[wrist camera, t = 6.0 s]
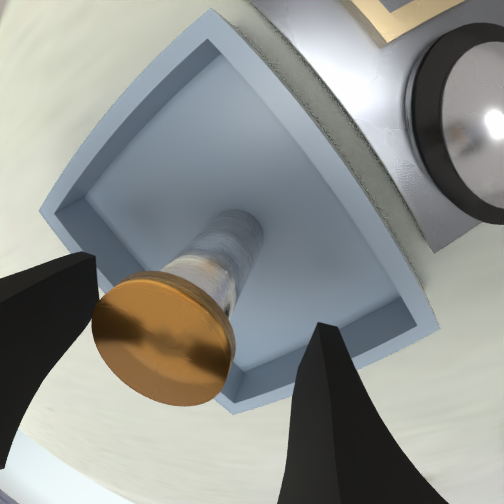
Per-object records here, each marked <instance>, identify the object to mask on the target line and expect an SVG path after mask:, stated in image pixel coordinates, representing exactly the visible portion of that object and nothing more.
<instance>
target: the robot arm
mask: <svg viewBox="0 0 504 504" xmlns="http://www.w3.org/2000/svg"><path fill="white" fill-rule="evenodd" d="M98 301H99V291H98V280H97V267H96V256H95V255H92V254H89V253H86V252H83V251H80V252H76V253H72V254H69V255H66V256H63V257H60V258H57V259H54V260H52V261H49V262H46V263H43V264H41V265H38V266H35V267H32V268H30V269H27V270H24V271H21V272H18V273H15V274H12V275H9V276H6V277H4V278H1V279H0V469H4V468H5V464H6V460H7V457H8V454H9V451H10V448H11V445H12V442H13V439H14V437H15V434H16V432H17V430H18V427H19V425H20V423H21V420H22V418H23V416H24V414H25V412H26V410H27V408H28V406H29V404H30V402H31V401H32V399H33V397H34V395H35V394H36V392H37V390H38V389H39V387H40V385H41V383H42V382H43V380H44V379H45V377H46V376H47V375H48V373H49V372H50V371H51V369H52V368H53V367H54V366H55V364H56V363H57V362H58V361H59V359H60V358H61V357H62V356H63V355H64V353H65V352H66V351H67V350H68V349H69V347H70V346H71V345H72V344H73V342H74V341H75V340H76V339H77V338H78V336H79V335H80V334H81V333H82V332H83V330H84V329H85V328H86V326H87V325H88V323H89V322H90V320H91V319H92V315H93V311H94V308H95V306H96V305H97V303H98ZM0 504H18V503H17V502H16V501H15V500H13V499H12V498H10V497H9V496H8V495H7V494H6V493H4V492H3V491H2V490H1V489H0ZM277 504H449V503H448V502H447V501H445V500H444V499H443V498H442V497H441V496H440V494H439V493H438V492H437V491H436V490H435V489H434V488H433V487H432V486H431V485H430V484H429V483H428V482H427V481H426V479H425V478H424V477H423V476H422V475H421V474H420V473H419V471H418V470H417V469H416V468H415V466H414V465H413V464H412V462H411V461H410V460H409V459H408V457H407V456H406V455H405V453H404V452H403V451H402V449H401V448H400V447H399V445H398V444H397V442H396V441H395V439H394V438H393V436H392V435H391V433H390V432H389V430H388V429H387V427H386V425H385V424H384V422H383V421H382V419H381V417H380V416H379V414H378V412H377V410H376V408H375V406H374V405H373V403H372V401H371V399H370V397H369V395H368V393H367V391H366V389H365V387H364V385H363V383H362V381H361V379H360V376H359V374H358V372H357V370H356V368H355V366H354V363H353V361H352V359H351V356H350V354H349V352H348V349H347V347H346V345H345V342H344V340H343V337H342V335H341V333H340V330H339V328H338V327H337V326H333V325H329V324H325V323H321V322H317V325H316V327H315V330H314V332H313V334H312V337H311V339H310V341H309V344H308V346H307V348H306V351H305V353H304V355H303V357H302V360H301V362H300V364H299V366H298V370H297V375H296V380H295V385H294V390H293V395H292V404H291V416H290V428H289V439H288V450H287V460H286V466H285V473H284V477H283V481H282V486H281V490H280V494H279V498H278V502H277Z"/></svg>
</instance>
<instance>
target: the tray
mask: <svg viewBox="0 0 504 504" xmlns="http://www.w3.org/2000/svg"><path fill="white" fill-rule="evenodd" d="M232 209H237V210H243V211H245V212H248V213H250V214H251V215H253V216H254V217H255V218H256V219H257V220H258V222H259V223H260V225H261V227H262V229H263V233H264V243H263V246H262V249H261V251H260V253H259V255H258V258H257V260H256V262H255V264H254V266H253V269H252V271H251V273H250V275H249V277H248V280H247V282H246V284H245V286H244V288H243V291H242V293H241V295H240V297H239V299H238V302H237V304H236V306H235V308H234V310H233V313H232V315H231V317H230V319H229V322H230V324H231V326H232V328H233V332H234V335H235V341H236V352H235V357H234V360H233V363H232V366H231V368H230V371H229V374H228V376H227V379H226V382H225V384H224V386H223V388H222V390H221V391H220V393H219V394H218V395H217V396H216V397H214V398H213V399H214V400H216V401H217V402H218V403H219V404H220V405H222V406H223V407H224V408H225V409H226V410H228V411H229V412H230V413H231V414H233V415H234V414H238V413H241V412H244V411H248V410H251V409H254V408H257V407H260V406H264V405H267V404H270V403H273V402H276V401H279V400H282V399H284V398H287V397H290V396H292V395H293V390H294V385H295V380H296V375H297V370H298V366H299V364H300V362H301V360H302V357H303V355H304V353H305V351H306V348H307V346H308V344H309V341H310V339H311V337H312V334H313V332H314V330H315V327H316V325H317V322H321V323H325V324H329V325H333V326H337V327H338V328H339V330H340V333H341V335H342V337H343V340H344V342H345V345H346V347H347V349H348V352H349V354H350V356H351V359H352V361H353V363H354V366H355V368H356V370H358V369H361V368H363V367H365V366H367V365H369V364H372V363H374V362H376V361H378V360H380V359H382V358H385V357H387V356H389V355H391V354H393V353H395V352H397V351H399V350H401V349H403V348H405V347H407V346H409V345H411V344H413V343H415V342H417V341H418V340H420V339H422V338H424V337H426V336H428V335H430V334H432V333H433V332H435V331H437V330H439V329H440V327H439V324H438V322H437V319H436V317H435V315H434V312H433V310H432V307H431V305H430V303H429V300H428V298H427V296H426V294H425V291H424V289H423V287H422V285H421V284H420V282H419V280H418V278H417V276H416V274H415V272H414V270H413V269H412V267H411V265H410V263H409V261H408V259H407V258H406V256H405V254H404V252H403V251H402V249H401V247H400V245H399V244H398V242H397V240H396V239H395V237H394V235H393V233H392V232H391V230H390V228H389V227H388V225H387V223H386V222H385V220H384V219H383V217H382V215H381V214H380V212H379V210H378V209H377V207H376V206H375V204H374V203H373V201H372V199H371V198H370V196H369V195H368V193H367V192H366V190H365V189H364V187H363V186H362V184H361V183H360V181H359V180H358V178H357V177H356V175H355V174H354V172H353V171H352V169H351V168H350V166H349V165H348V164H347V162H346V161H345V159H344V158H343V156H342V155H341V154H340V152H339V151H338V149H337V148H336V147H335V145H334V144H333V143H332V141H331V140H330V138H329V137H328V136H327V134H326V133H325V132H324V130H323V129H322V128H321V126H320V125H319V124H318V123H317V121H316V120H315V119H314V117H313V116H312V115H311V113H310V112H309V111H308V110H307V108H306V107H305V106H304V105H303V103H302V102H301V101H300V100H299V98H298V97H297V96H296V95H295V94H294V92H293V91H292V90H291V89H290V87H289V86H288V85H287V84H286V83H285V82H284V80H283V79H282V78H281V77H280V76H279V74H278V73H277V72H276V71H275V70H274V69H273V68H272V66H271V65H270V64H269V63H268V62H267V61H266V60H265V59H264V57H263V56H262V55H261V54H260V53H259V52H258V51H257V50H256V49H255V48H254V47H253V45H252V44H251V43H250V42H249V41H248V40H247V39H246V38H245V37H244V36H243V35H242V34H241V33H240V32H239V31H238V30H237V29H236V28H235V27H234V26H233V25H232V24H231V23H230V22H228V21H227V20H226V19H225V18H223V17H222V16H221V15H220V14H218V13H217V12H216V11H215V10H213V9H212V8H210V9H209V10H208V11H207V12H206V13H204V14H203V15H202V16H201V17H200V18H198V19H197V20H196V21H195V22H194V23H193V24H192V25H190V26H189V27H188V28H187V29H186V30H185V31H184V32H183V33H182V34H180V35H179V36H178V37H177V38H176V39H175V40H174V41H173V42H172V43H171V44H170V45H169V46H168V47H167V48H166V49H165V50H163V51H162V52H161V53H160V54H159V55H158V56H157V57H156V58H155V59H154V60H153V61H152V62H151V63H150V65H149V66H148V67H147V68H146V69H145V70H144V71H143V72H142V73H141V74H140V75H139V76H138V77H137V78H136V79H135V80H134V82H133V83H132V84H131V85H130V86H129V87H128V88H127V89H126V90H125V92H124V93H123V94H122V95H121V96H120V97H119V99H118V100H117V101H116V102H115V103H114V104H113V106H112V107H111V108H110V109H109V110H108V112H107V113H106V114H105V115H104V117H103V118H102V119H101V120H100V122H99V123H98V124H97V125H96V127H95V128H94V129H93V131H92V132H91V133H90V134H89V136H88V137H87V138H86V140H85V141H84V143H83V144H82V145H81V147H80V148H79V149H78V151H77V152H76V154H75V155H74V156H73V158H72V159H71V161H70V162H69V164H68V165H67V167H66V168H65V170H64V171H63V173H62V174H61V176H60V177H59V179H58V180H57V182H56V183H55V185H54V186H53V188H52V190H51V191H50V193H49V194H48V196H47V198H46V199H45V201H44V203H43V204H42V206H41V208H40V209H39V212H40V214H41V215H42V216H43V218H44V219H45V220H46V222H47V223H48V224H49V226H50V227H51V228H52V230H53V231H54V232H55V234H56V235H57V236H58V238H59V239H60V240H61V241H62V243H63V244H64V245H65V247H66V248H67V249H68V250H69V252H70V253H71V254H72V253H76V252H80V251H83V252H86V253H89V254H92V255H95V256H96V267H97V280H98V286H99V287H100V288H101V289H102V291H103V292H104V293H105V294H106V293H107V292H109V291H110V290H111V289H112V288H113V287H114V286H115V285H117V284H118V283H119V282H120V281H121V280H123V279H124V278H125V277H127V276H129V275H131V274H133V273H137V272H141V271H161V270H162V269H163V268H164V267H165V266H166V265H167V264H168V263H169V262H170V261H171V260H172V259H173V258H174V257H175V256H176V255H177V254H178V253H179V252H180V251H181V250H182V249H183V248H184V247H185V246H186V245H187V244H188V243H189V242H190V241H191V240H193V239H194V238H195V237H196V236H197V235H198V234H199V233H200V232H201V231H202V230H203V229H204V228H205V227H206V226H207V225H208V224H209V223H210V222H211V221H213V220H214V219H215V218H216V217H217V216H218V215H219V214H221V213H222V212H224V211H227V210H232Z"/></svg>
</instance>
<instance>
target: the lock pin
mask: <svg viewBox="0 0 504 504" xmlns="http://www.w3.org/2000/svg"><path fill="white" fill-rule="evenodd" d="M263 243H264V233H263V229H262V227H261V225H260V223H259V222H258V220H257V219H256V218H255V217H254V216H253V215H251V214H250V213H248V212H245V211H243V210H237V209H232V210H227V211H224V212H222V213H221V214H219V215H218V216H217V217H216V218H215V219H214V220H213V221H211V222H210V223H209V224H208V225H207V226H206V227H205V228H204V229H203V230H202V231H201V232H200V233H199V234H198V235H197V236H196V237H195V238H194V239H193V240H191V241H190V242H189V243H188V244H187V245H186V246H185V247H184V248H183V249H182V250H181V251H180V252H179V253H178V254H177V255H176V256H175V257H174V258H173V259H172V260H171V261H170V262H169V263H168V264H167V265H166V266H165V267H164V268H163V269H162V270H161V271H141V272H137V273H133V274H131V275H129V276H127V277H125V278H124V279H123V280H121V281H120V282H119V283H118V284H117V285H115V286H114V287H113V288H112V289H111V290H110V291H109V292H107V293H106V294H105V295H104V296H103V297H102V298H101V299H100V300H99V301H98V303H97V305H96V306H95V308H94V311H93V315H92V334H93V338H94V341H95V344H96V347H97V349H98V351H99V353H100V355H101V357H102V358H103V360H104V361H105V363H106V364H107V365H108V367H109V368H110V369H111V370H112V372H113V373H114V374H115V375H116V376H117V377H118V378H119V379H120V380H121V381H123V382H124V383H125V384H126V385H128V386H129V387H130V388H132V389H133V390H135V391H136V392H138V393H140V394H142V395H143V396H145V397H148V398H150V399H152V400H155V401H157V402H160V403H164V404H168V405H173V406H195V405H199V404H203V403H205V402H208V401H210V400H211V399H213V398H214V397H216V396H217V395H218V394H219V393H220V391H221V390H222V388H223V386H224V384H225V382H226V379H227V376H228V374H229V371H230V368H231V366H232V363H233V360H234V357H235V352H236V341H235V335H234V332H233V328H232V326H231V324H230V322H229V319H230V317H231V315H232V313H233V310H234V308H235V306H236V304H237V302H238V299H239V297H240V295H241V293H242V291H243V288H244V286H245V284H246V282H247V280H248V277H249V275H250V273H251V271H252V269H253V266H254V264H255V262H256V260H257V258H258V255H259V253H260V251H261V249H262V246H263Z"/></svg>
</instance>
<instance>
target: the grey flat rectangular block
mask: <svg viewBox="0 0 504 504" xmlns="http://www.w3.org/2000/svg"><path fill="white" fill-rule="evenodd" d="M248 1H249V2H250V3H251V4H252V5H253V6H254V7H255V8H256V9H257V10H258V11H259V12H260V13H261V14H262V15H263V16H264V17H265V18H266V19H267V20H268V21H269V22H270V23H271V24H272V25H273V26H274V27H275V28H276V29H277V30H278V31H279V32H280V33H281V34H282V35H283V36H284V37H285V39H286V40H287V41H288V42H289V43H290V44H291V45H292V46H293V47H294V49H295V50H296V51H297V52H298V53H299V54H300V55H301V56H302V58H303V59H304V60H305V61H306V62H307V63H308V65H309V66H310V67H311V68H312V69H313V71H314V72H315V73H316V74H317V75H318V77H319V78H320V79H321V80H322V82H323V83H324V84H325V85H326V87H327V88H328V89H329V90H330V92H331V93H332V94H333V95H334V97H335V98H336V99H337V101H338V102H339V103H340V105H341V106H342V107H343V109H344V110H345V111H346V113H347V114H348V115H349V117H350V118H351V119H352V121H353V122H354V124H355V125H356V126H357V128H358V129H359V131H360V132H361V134H362V135H363V136H364V138H365V139H366V141H367V142H368V144H369V145H370V147H371V148H372V150H373V151H374V153H375V154H376V156H377V157H378V159H379V160H380V162H381V163H382V165H383V167H384V168H385V170H386V171H387V173H388V175H389V176H390V178H391V179H392V181H393V183H394V184H395V186H396V188H397V189H398V191H399V193H400V194H401V196H402V198H403V199H404V201H405V203H406V205H407V206H408V208H409V210H410V212H411V214H412V215H413V217H414V219H415V221H416V223H417V224H418V226H419V228H420V230H421V232H422V234H423V236H424V238H425V240H426V242H427V243H428V245H429V246H430V248H431V249H432V251H433V252H434V253H436V252H437V251H439V250H440V249H442V248H444V247H445V246H447V245H448V244H450V243H451V242H453V241H454V240H456V239H457V238H459V237H461V236H462V235H464V234H465V233H467V232H468V231H470V230H471V229H473V228H474V227H475V226H477V225H478V224H480V223H481V222H485V223H490V224H498V225H504V0H248Z"/></svg>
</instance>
